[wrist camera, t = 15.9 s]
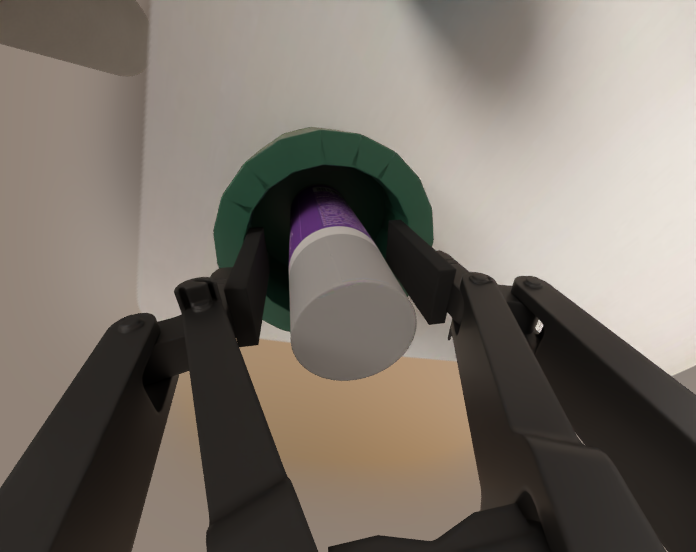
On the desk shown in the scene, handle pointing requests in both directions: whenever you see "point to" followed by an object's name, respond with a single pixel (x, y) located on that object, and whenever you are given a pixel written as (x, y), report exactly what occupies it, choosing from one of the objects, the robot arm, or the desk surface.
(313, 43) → the desk surface
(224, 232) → the jar
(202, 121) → the desk surface
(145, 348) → the robot arm
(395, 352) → the container
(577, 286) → the desk surface
